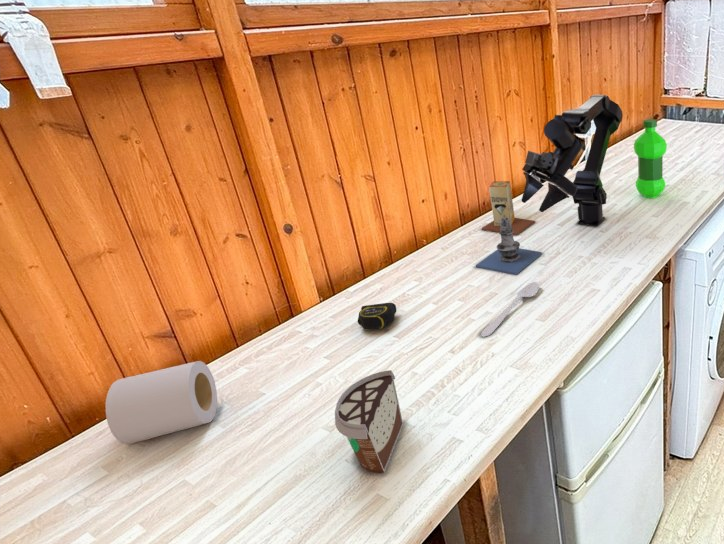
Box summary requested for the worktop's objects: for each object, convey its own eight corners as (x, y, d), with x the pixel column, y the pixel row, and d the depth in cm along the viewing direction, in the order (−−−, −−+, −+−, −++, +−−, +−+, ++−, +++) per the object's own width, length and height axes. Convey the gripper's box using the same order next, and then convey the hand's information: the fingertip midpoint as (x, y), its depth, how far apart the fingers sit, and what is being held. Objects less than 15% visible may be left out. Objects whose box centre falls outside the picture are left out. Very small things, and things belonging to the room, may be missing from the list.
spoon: (544, 289, 119) (543, 282, 119) (491, 339, 102) (490, 332, 102) (528, 286, 121) (528, 279, 120) (474, 334, 104) (473, 328, 103)
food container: (366, 420, 83) (351, 371, 79) (406, 417, 84) (392, 367, 79) (335, 485, 72) (315, 431, 68) (380, 481, 72) (363, 427, 68)
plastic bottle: (636, 190, 179) (635, 117, 169) (667, 190, 178) (667, 117, 167) (633, 200, 170) (631, 124, 160) (665, 200, 169) (665, 124, 158)
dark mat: (534, 222, 156) (534, 220, 156) (516, 235, 148) (516, 233, 147) (501, 217, 160) (501, 215, 160) (481, 229, 152) (481, 228, 152)
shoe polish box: (498, 219, 158) (493, 181, 152) (514, 218, 157) (510, 181, 152) (494, 225, 153) (489, 187, 148) (511, 225, 153) (506, 186, 148)
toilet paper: (126, 458, 78) (96, 406, 74) (150, 414, 86) (124, 366, 82) (206, 436, 81) (182, 386, 77) (222, 396, 90) (200, 349, 85)
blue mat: (541, 254, 136) (541, 252, 136) (516, 274, 126) (516, 272, 126) (503, 247, 141) (503, 245, 140) (476, 267, 131) (475, 264, 130)
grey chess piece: (524, 253, 136) (518, 210, 131) (517, 263, 130) (512, 219, 125) (502, 252, 136) (496, 210, 131) (495, 263, 131) (488, 219, 126)
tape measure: (399, 313, 112) (395, 298, 110) (392, 331, 106) (388, 316, 104) (365, 317, 111) (361, 302, 109) (357, 336, 105) (352, 320, 103)
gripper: (524, 132, 135) (491, 182, 134) (562, 144, 122) (526, 200, 120) (553, 155, 143) (522, 203, 142) (592, 169, 129) (558, 222, 128)
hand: (531, 206), depth 133 cm, fingers open, 9 cm apart
